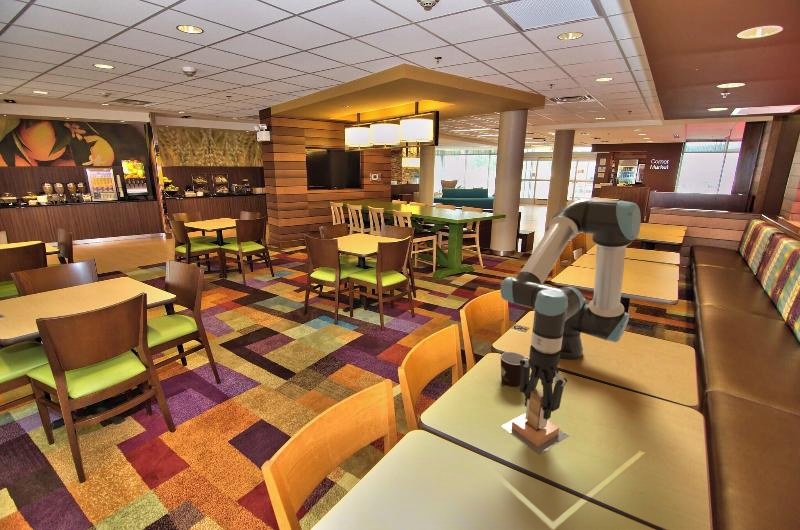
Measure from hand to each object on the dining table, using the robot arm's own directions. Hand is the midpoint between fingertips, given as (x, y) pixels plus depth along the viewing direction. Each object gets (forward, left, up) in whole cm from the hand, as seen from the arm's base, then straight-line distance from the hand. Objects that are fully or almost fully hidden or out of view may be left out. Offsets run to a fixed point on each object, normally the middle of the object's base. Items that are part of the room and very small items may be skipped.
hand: (535, 422), depth 106 cm
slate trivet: (0, 0, -4) cm, 4 cm away
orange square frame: (0, 0, -3) cm, 3 cm away
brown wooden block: (0, 0, -2) cm, 2 cm away
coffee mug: (-15, -21, -4) cm, 27 cm away
